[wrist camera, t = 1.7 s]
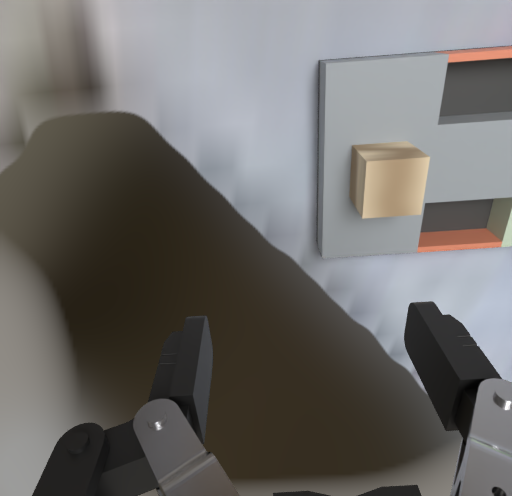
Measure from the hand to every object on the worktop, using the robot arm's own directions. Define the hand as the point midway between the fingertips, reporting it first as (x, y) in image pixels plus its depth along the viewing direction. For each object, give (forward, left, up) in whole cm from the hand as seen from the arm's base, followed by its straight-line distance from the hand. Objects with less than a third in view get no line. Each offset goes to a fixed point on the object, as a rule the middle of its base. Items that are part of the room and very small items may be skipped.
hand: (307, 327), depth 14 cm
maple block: (+8, 0, -17) cm, 18 cm away
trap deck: (+14, 0, -20) cm, 24 cm away
